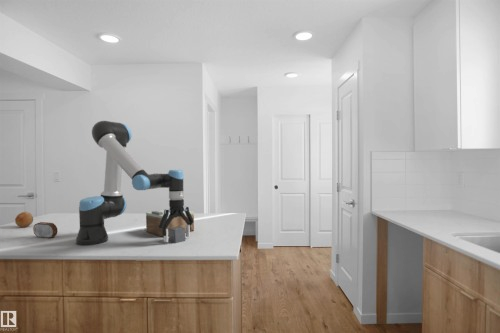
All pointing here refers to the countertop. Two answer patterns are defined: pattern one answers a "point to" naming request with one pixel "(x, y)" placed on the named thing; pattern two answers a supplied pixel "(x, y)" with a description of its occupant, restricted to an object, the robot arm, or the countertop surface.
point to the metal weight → (176, 234)
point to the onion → (24, 219)
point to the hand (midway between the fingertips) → (177, 239)
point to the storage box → (154, 223)
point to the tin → (45, 230)
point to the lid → (162, 213)
